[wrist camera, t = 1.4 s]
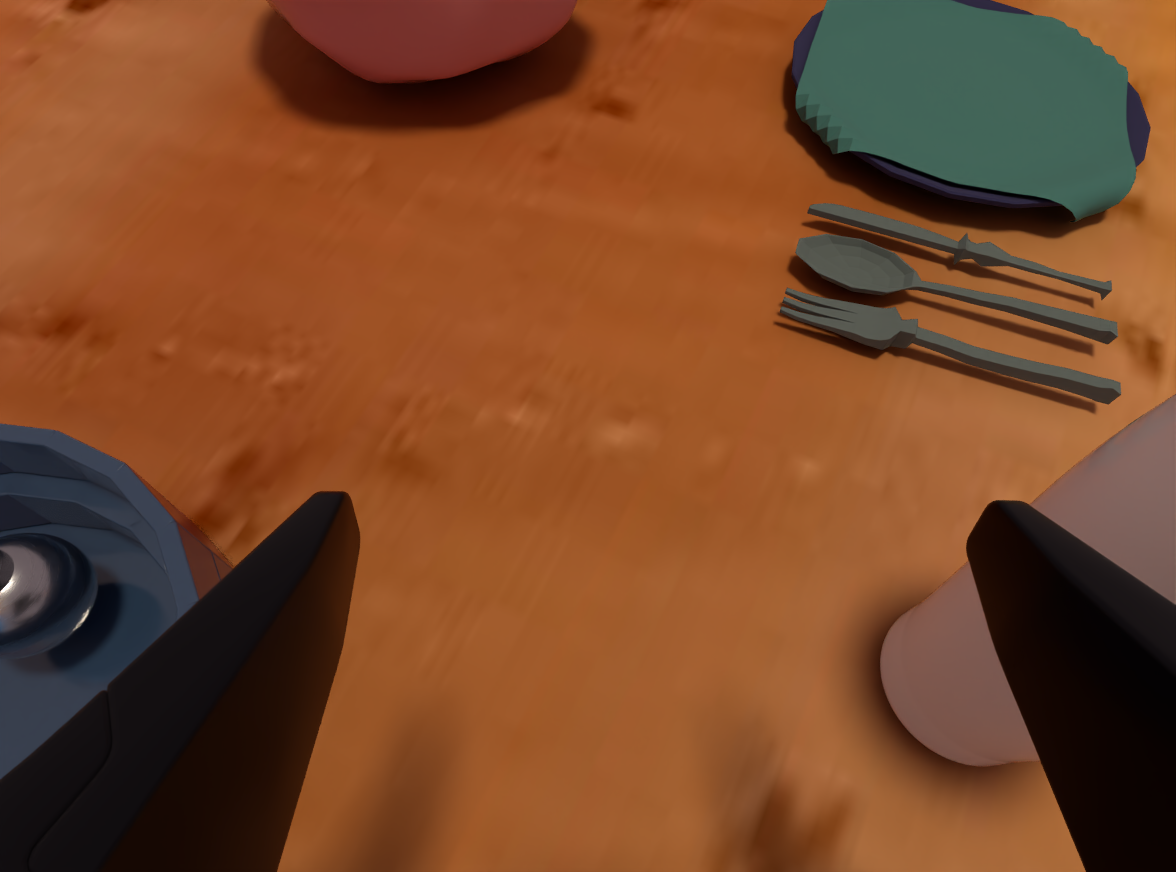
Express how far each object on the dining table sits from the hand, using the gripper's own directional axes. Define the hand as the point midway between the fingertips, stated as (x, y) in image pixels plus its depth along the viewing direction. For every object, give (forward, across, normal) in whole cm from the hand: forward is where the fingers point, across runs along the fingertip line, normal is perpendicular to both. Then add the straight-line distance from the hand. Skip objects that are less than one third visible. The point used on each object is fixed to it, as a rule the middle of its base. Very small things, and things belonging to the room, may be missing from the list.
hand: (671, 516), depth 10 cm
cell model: (+40, +10, +3) cm, 42 cm away
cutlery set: (+32, -19, +6) cm, 38 cm away
